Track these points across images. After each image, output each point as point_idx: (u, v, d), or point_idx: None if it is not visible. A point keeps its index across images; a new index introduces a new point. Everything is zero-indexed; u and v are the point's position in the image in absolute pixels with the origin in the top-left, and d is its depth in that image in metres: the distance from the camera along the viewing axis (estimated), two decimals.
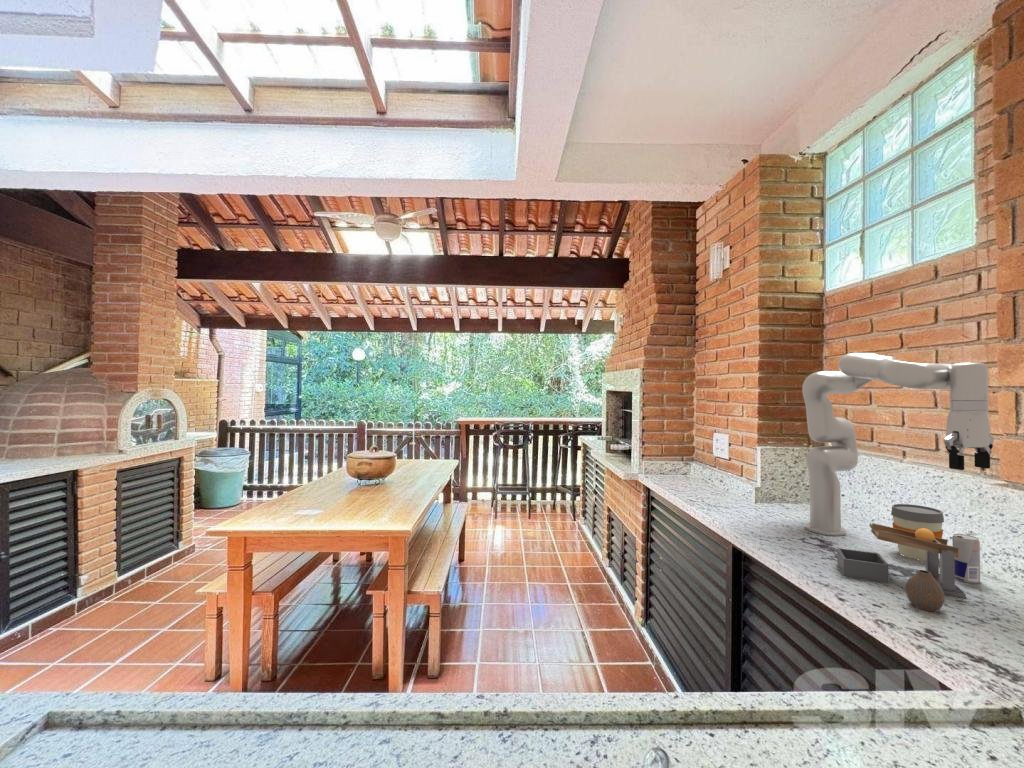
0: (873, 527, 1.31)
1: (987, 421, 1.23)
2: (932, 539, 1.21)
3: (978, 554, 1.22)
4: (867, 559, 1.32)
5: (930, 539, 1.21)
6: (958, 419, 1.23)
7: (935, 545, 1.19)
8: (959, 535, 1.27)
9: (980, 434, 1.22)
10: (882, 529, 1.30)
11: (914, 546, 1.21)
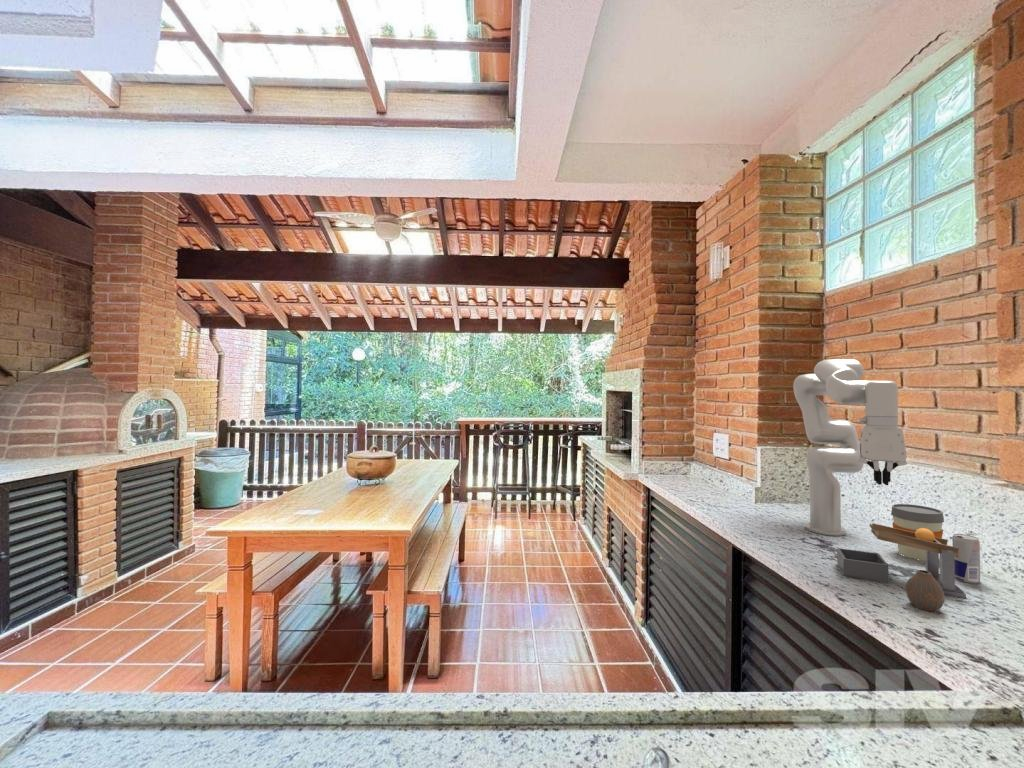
0: (873, 527, 1.31)
1: None
2: (932, 539, 1.21)
3: (978, 554, 1.22)
4: (867, 559, 1.32)
5: (930, 539, 1.21)
6: None
7: (935, 545, 1.19)
8: (959, 535, 1.27)
9: None
10: (882, 529, 1.30)
11: (914, 546, 1.21)
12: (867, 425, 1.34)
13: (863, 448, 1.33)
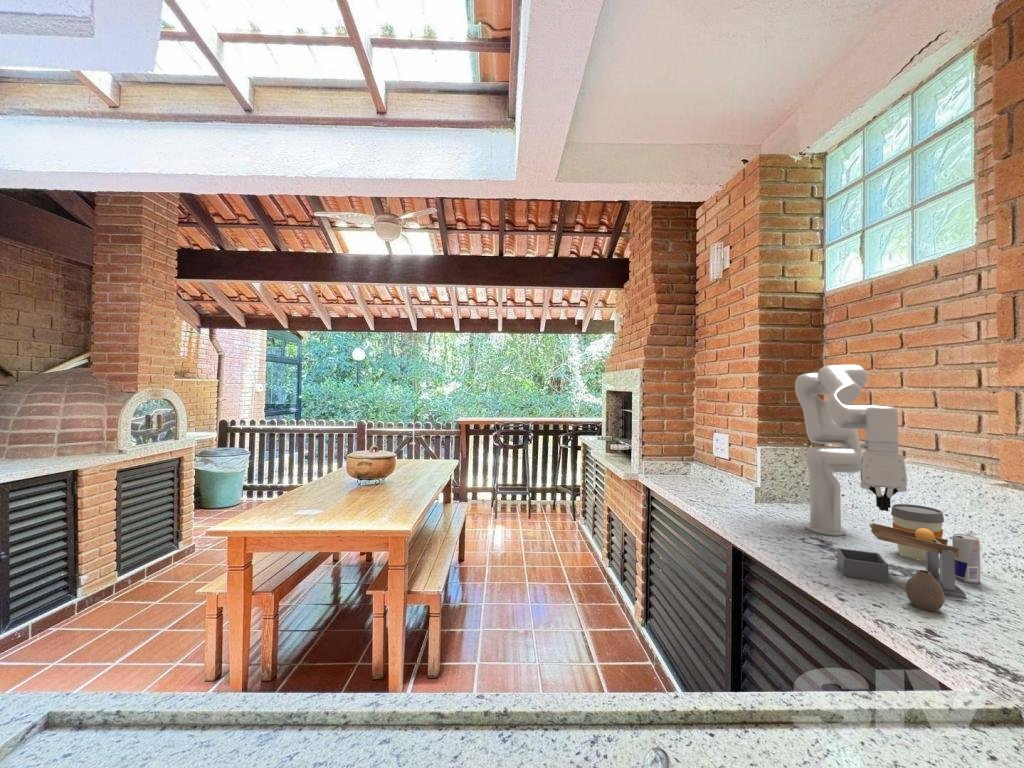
0: (873, 527, 1.31)
1: None
2: (932, 539, 1.21)
3: (978, 554, 1.22)
4: (867, 559, 1.32)
5: (930, 539, 1.21)
6: None
7: (935, 545, 1.19)
8: (959, 535, 1.27)
9: None
10: (882, 529, 1.30)
11: (914, 546, 1.21)
12: (868, 450, 1.34)
13: (864, 474, 1.33)
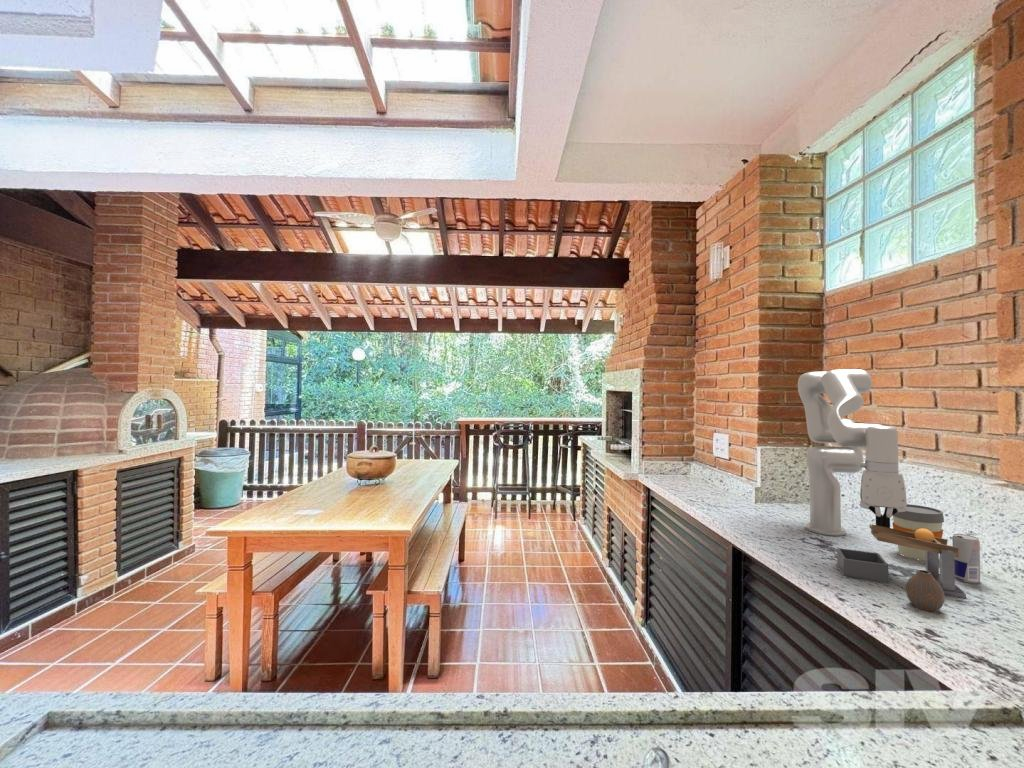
0: (873, 528, 1.31)
1: None
2: (932, 539, 1.21)
3: (978, 554, 1.22)
4: (867, 559, 1.32)
5: (930, 539, 1.21)
6: None
7: (935, 545, 1.19)
8: (959, 535, 1.27)
9: None
10: (882, 530, 1.30)
11: (914, 547, 1.21)
12: (867, 470, 1.34)
13: (864, 493, 1.33)
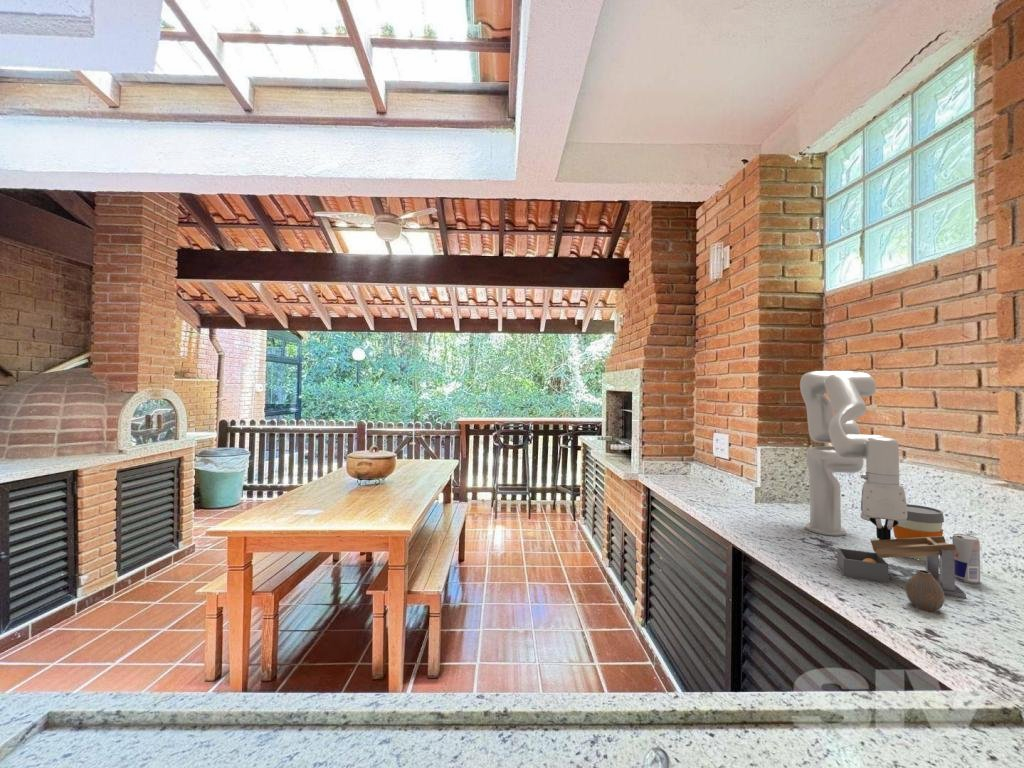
0: (873, 544, 1.31)
1: None
2: None
3: (978, 554, 1.22)
4: None
5: None
6: None
7: (933, 548, 1.19)
8: (959, 535, 1.27)
9: None
10: (881, 544, 1.30)
11: (915, 554, 1.21)
12: (868, 482, 1.33)
13: (864, 505, 1.33)
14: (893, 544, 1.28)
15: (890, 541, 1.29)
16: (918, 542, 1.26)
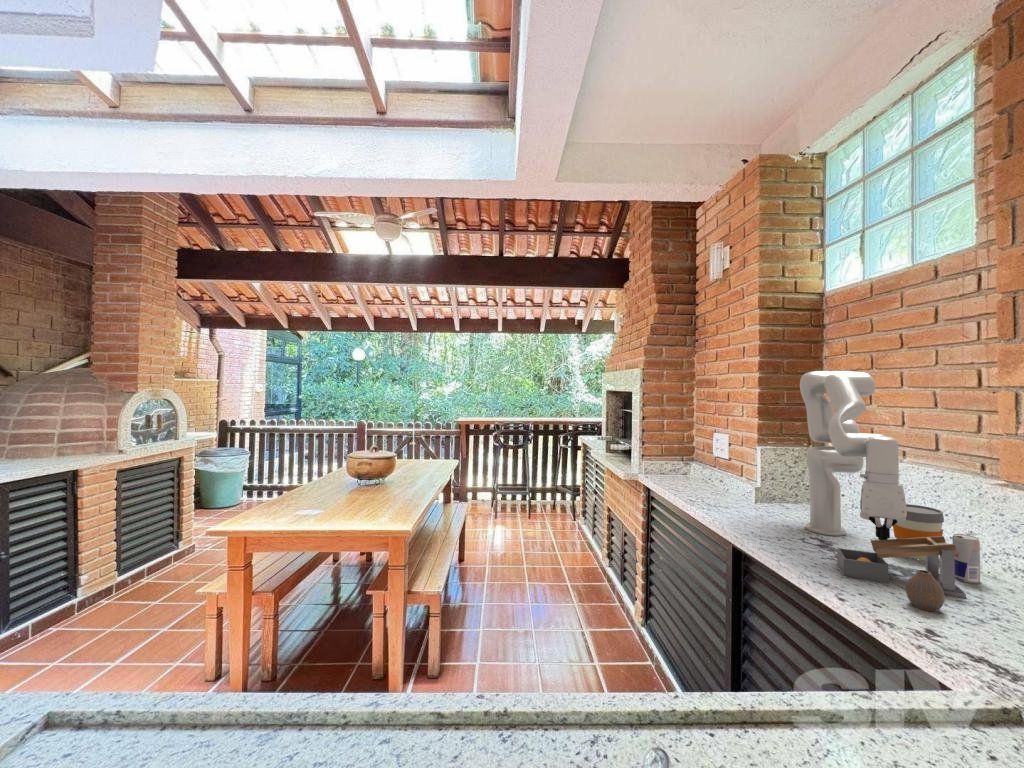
0: (873, 544, 1.31)
1: None
2: None
3: (978, 554, 1.22)
4: None
5: None
6: None
7: (933, 548, 1.19)
8: (959, 535, 1.27)
9: None
10: (881, 544, 1.30)
11: (915, 554, 1.21)
12: (868, 481, 1.34)
13: (864, 504, 1.33)
14: (893, 544, 1.28)
15: (890, 541, 1.29)
16: (918, 542, 1.26)
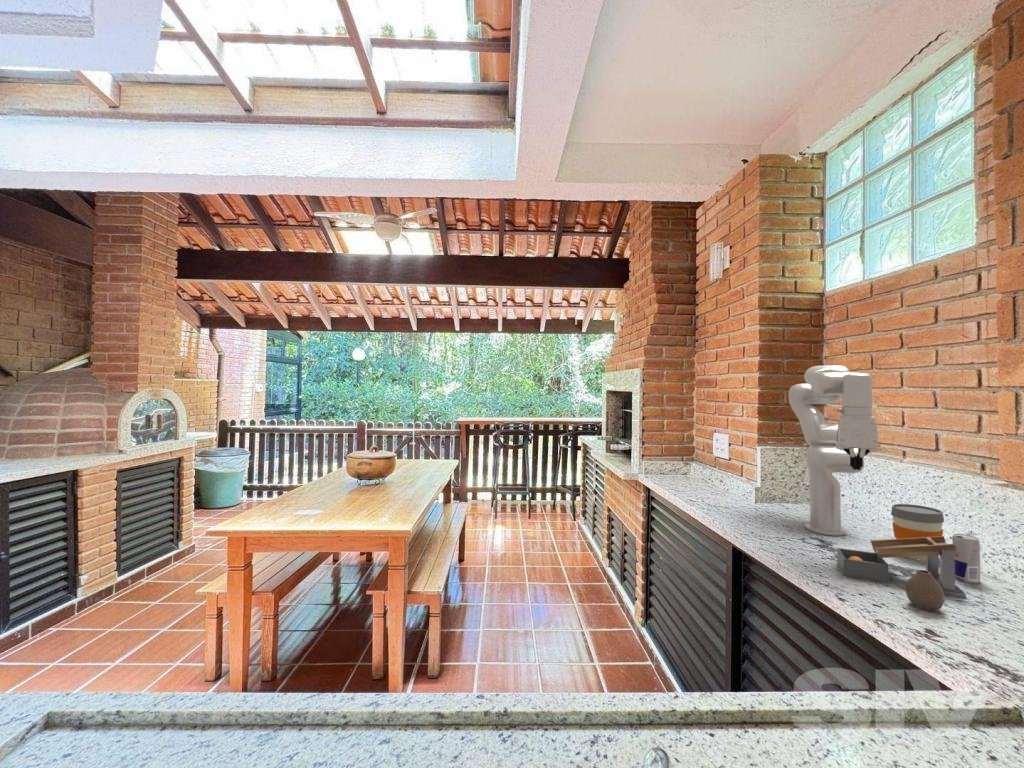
0: (873, 544, 1.31)
1: None
2: None
3: (978, 554, 1.22)
4: (867, 559, 1.32)
5: None
6: None
7: (933, 548, 1.19)
8: (959, 535, 1.27)
9: None
10: (881, 544, 1.30)
11: (915, 554, 1.21)
12: (843, 415, 1.43)
13: (839, 436, 1.43)
14: (893, 544, 1.28)
15: (890, 541, 1.29)
16: (918, 542, 1.26)
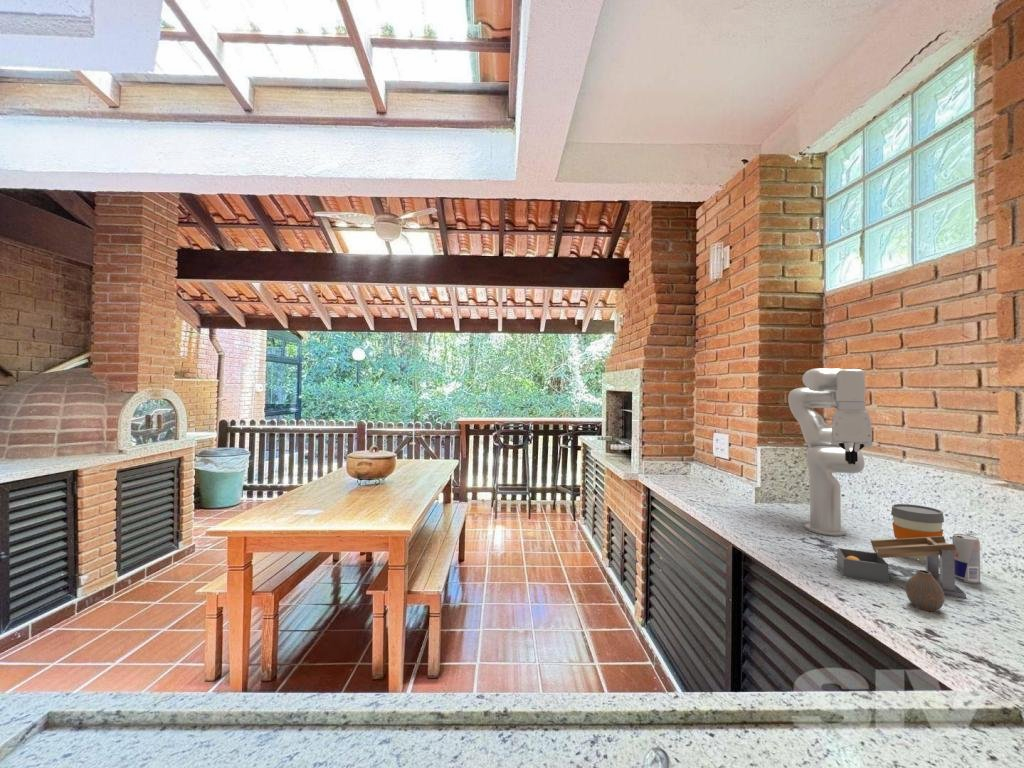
0: (873, 544, 1.31)
1: None
2: None
3: (978, 554, 1.22)
4: (867, 559, 1.32)
5: None
6: None
7: (933, 548, 1.19)
8: (959, 535, 1.27)
9: None
10: (881, 544, 1.30)
11: (915, 554, 1.21)
12: (838, 410, 1.46)
13: (834, 431, 1.45)
14: (893, 544, 1.28)
15: (890, 541, 1.29)
16: (918, 542, 1.26)
